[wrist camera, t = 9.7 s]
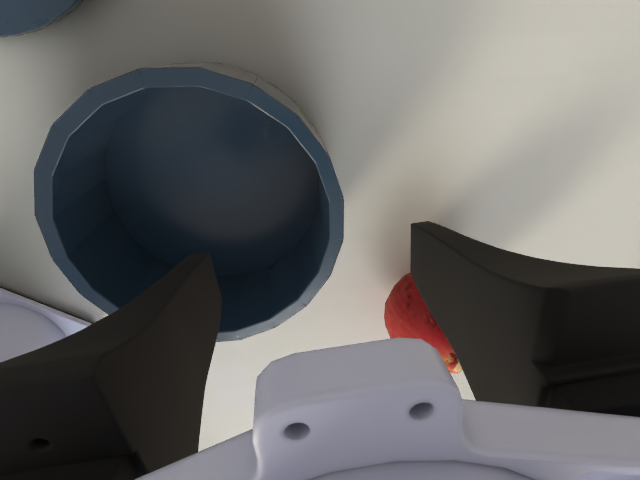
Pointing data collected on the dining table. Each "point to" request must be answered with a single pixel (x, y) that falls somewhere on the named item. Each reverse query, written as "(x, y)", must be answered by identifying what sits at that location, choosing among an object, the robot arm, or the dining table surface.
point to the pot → (191, 192)
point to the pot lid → (32, 14)
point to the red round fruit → (416, 321)
